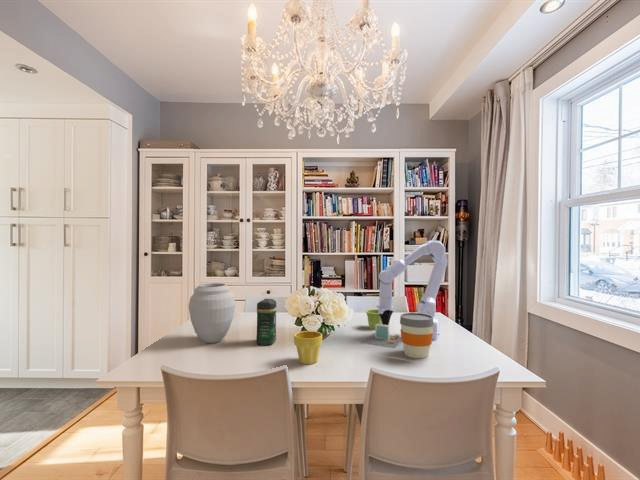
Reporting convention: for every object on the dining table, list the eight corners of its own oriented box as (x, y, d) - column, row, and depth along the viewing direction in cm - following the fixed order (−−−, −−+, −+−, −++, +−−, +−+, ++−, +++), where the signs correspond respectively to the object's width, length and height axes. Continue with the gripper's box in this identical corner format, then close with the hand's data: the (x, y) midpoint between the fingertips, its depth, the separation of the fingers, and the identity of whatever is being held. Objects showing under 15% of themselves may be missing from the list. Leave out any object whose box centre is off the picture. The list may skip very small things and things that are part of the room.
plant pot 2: (386, 331, 165) (386, 313, 165) (366, 331, 165) (366, 313, 165) (383, 326, 174) (383, 309, 174) (364, 326, 175) (364, 309, 175)
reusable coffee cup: (428, 363, 124) (429, 321, 123) (395, 356, 130) (395, 317, 130) (436, 353, 134) (437, 315, 134) (405, 347, 141) (405, 311, 141)
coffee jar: (273, 346, 142) (273, 301, 142) (254, 345, 143) (254, 301, 143) (278, 339, 152) (278, 297, 152) (260, 338, 153) (260, 297, 153)
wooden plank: (394, 336, 155) (394, 333, 155) (400, 337, 154) (400, 334, 154) (386, 343, 146) (386, 340, 146) (393, 344, 144) (393, 341, 144)
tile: (389, 338, 152) (389, 325, 152) (388, 340, 150) (388, 326, 150) (376, 336, 155) (377, 323, 155) (375, 338, 153) (375, 324, 153)
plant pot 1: (290, 358, 128) (290, 332, 128) (315, 354, 133) (315, 329, 133) (299, 368, 119) (300, 339, 119) (326, 363, 123) (327, 336, 123)
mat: (405, 338, 154) (405, 337, 154) (394, 349, 139) (394, 348, 139) (374, 333, 161) (374, 332, 161) (359, 343, 146) (359, 342, 146)
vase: (178, 343, 146) (178, 286, 146) (212, 332, 163) (212, 281, 163) (212, 350, 137) (212, 289, 136) (244, 338, 154) (244, 283, 154)
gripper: (382, 293, 164) (382, 322, 164) (371, 298, 151) (371, 329, 152) (397, 295, 161) (396, 324, 161) (387, 300, 148) (386, 331, 148)
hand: (385, 326), depth 156 cm, fingers closed
